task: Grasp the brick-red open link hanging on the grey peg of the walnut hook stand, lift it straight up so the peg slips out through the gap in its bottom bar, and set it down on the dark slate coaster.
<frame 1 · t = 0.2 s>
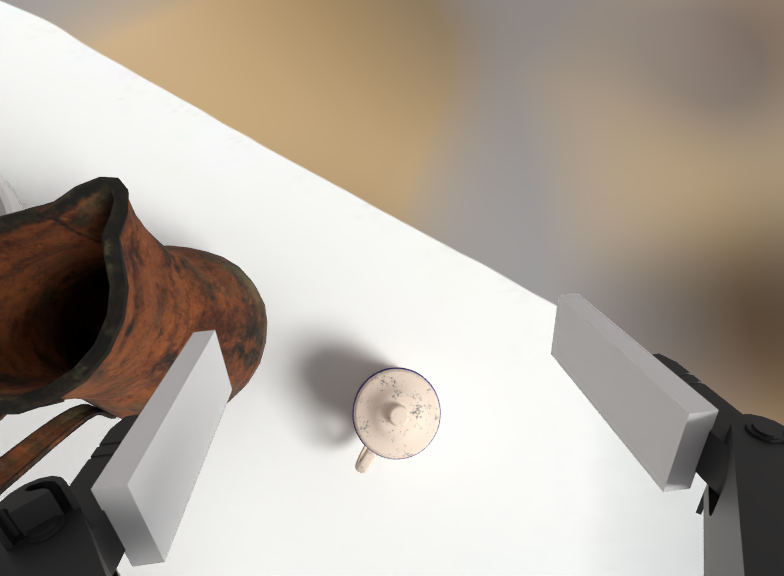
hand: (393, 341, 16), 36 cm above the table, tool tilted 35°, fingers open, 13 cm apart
pitcher: (211, 355, 50), on the table
teacup with lid: (385, 414, 50), on the table
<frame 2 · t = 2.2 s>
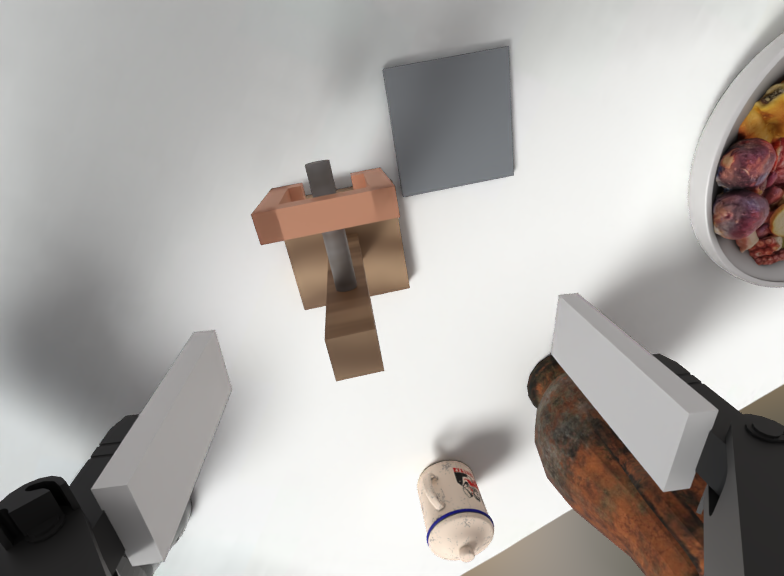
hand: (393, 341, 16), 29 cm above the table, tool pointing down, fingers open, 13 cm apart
pitcher: (554, 373, 56), on the table
c link: (329, 190, 33), point 8 cm above the table, touching hook stand
teacup with lid: (439, 474, 60), on the table
hook stand: (345, 244, 44), on the table
coaster: (451, 125, 41), on the table
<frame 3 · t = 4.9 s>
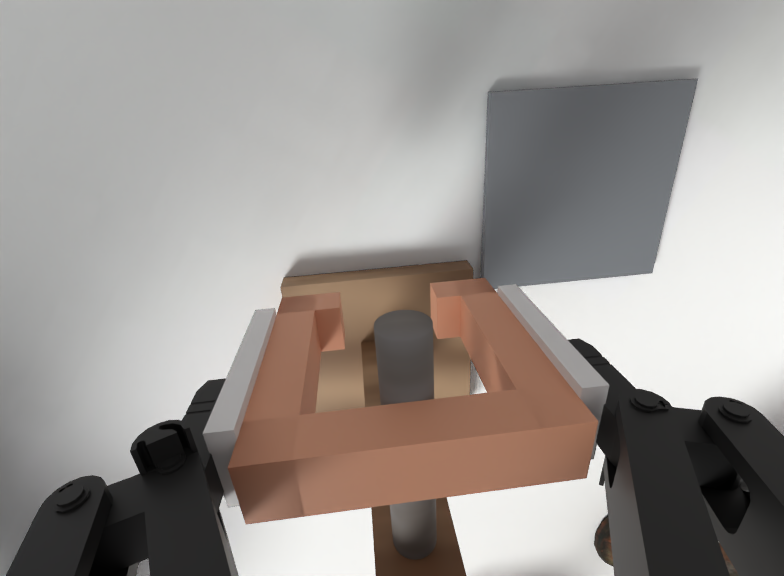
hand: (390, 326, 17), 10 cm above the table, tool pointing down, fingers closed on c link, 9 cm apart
pitcher: (633, 518, 41), on the table
c link: (386, 307, 18), point 8 cm above the table, touching gripper, hook stand
hook stand: (382, 346, 29), on the table
coaster: (576, 191, 26), on the table
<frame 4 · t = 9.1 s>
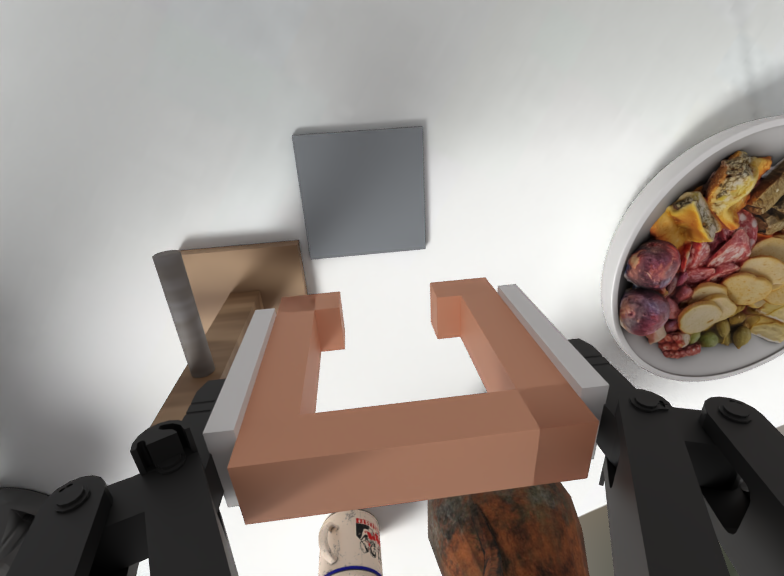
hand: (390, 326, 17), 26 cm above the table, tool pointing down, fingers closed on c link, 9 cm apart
pitcher: (465, 435, 55), on the table
c link: (386, 307, 18), point 24 cm above the table, touching gripper
teacup with lid: (345, 520, 60), on the table
bowl: (708, 251, 48), on the table
hook stand: (251, 298, 43), on the table
coaster: (363, 195, 40), on the table
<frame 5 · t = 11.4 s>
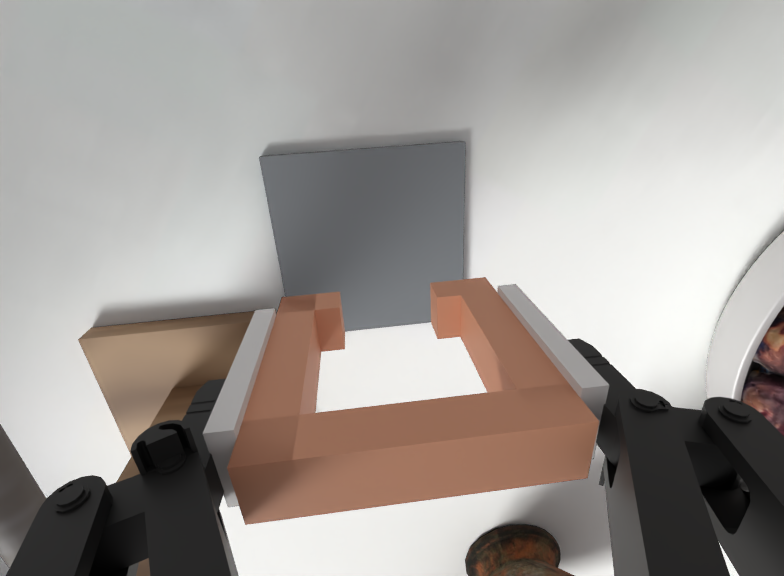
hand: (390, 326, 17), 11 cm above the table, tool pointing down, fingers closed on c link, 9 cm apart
pitcher: (503, 544, 42), on the table
c link: (386, 307, 18), point 9 cm above the table, touching gripper
hook stand: (207, 389, 30), on the table
coaster: (371, 244, 26), on the table
when the fingers open (3 cm above the table, at t = 13.5 s): c link drops 1 cm, resting on coaster.
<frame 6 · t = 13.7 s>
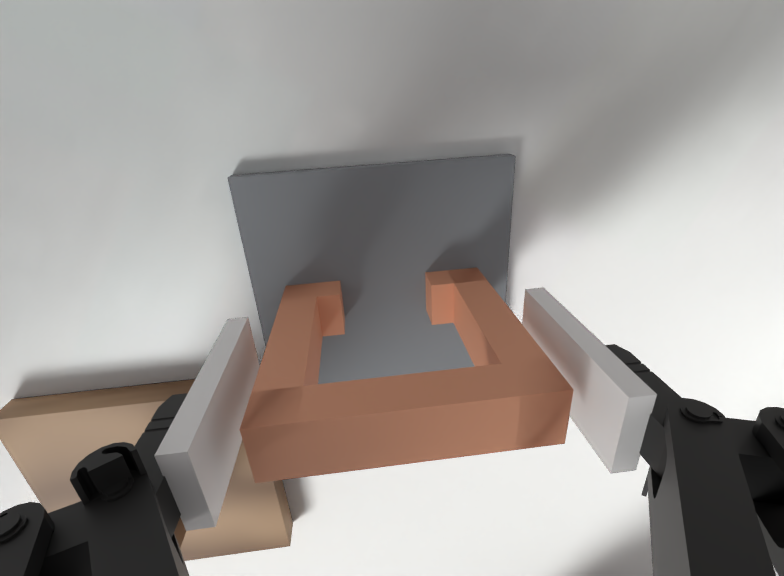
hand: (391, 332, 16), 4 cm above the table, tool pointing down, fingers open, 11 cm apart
c link: (384, 295, 19), point 1 cm above the table, touching coaster
hook stand: (170, 469, 23), on the table
coaster: (383, 290, 20), on the table
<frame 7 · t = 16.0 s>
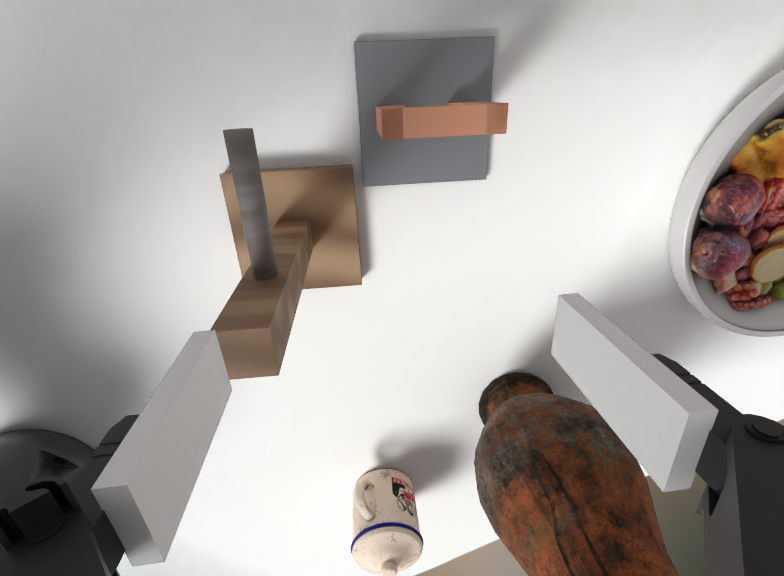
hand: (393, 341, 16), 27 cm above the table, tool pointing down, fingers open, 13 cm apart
pitcher: (509, 393, 53), on the table
c link: (425, 115, 37), point 1 cm above the table, touching coaster
teacup with lid: (378, 481, 58), on the table
hook stand: (297, 229, 41), on the table
coaster: (424, 115, 37), on the table
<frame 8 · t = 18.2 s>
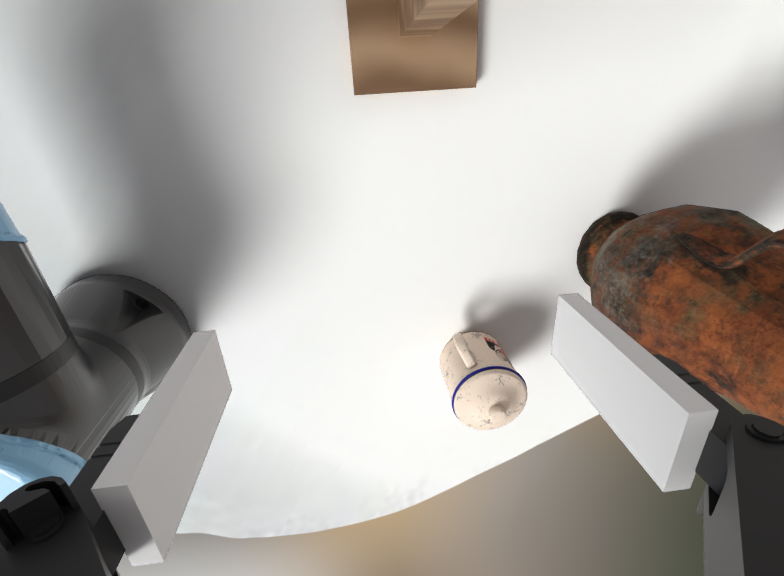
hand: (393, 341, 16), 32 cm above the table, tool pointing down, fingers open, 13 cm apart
pitcher: (608, 239, 50), on the table
teacup with lid: (465, 349, 55), on the table
hook stand: (411, 21, 38), on the table
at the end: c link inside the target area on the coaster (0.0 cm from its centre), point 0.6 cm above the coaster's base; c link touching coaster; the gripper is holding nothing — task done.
